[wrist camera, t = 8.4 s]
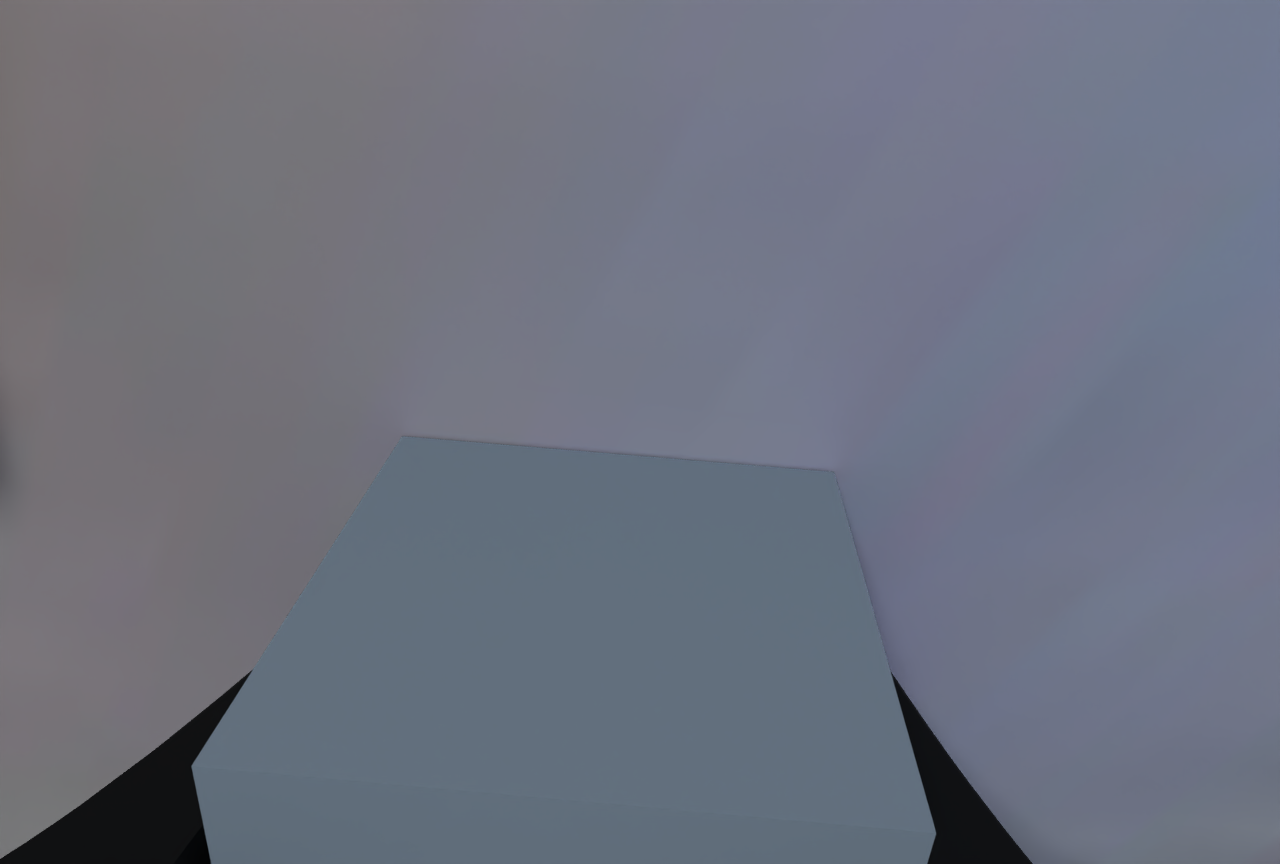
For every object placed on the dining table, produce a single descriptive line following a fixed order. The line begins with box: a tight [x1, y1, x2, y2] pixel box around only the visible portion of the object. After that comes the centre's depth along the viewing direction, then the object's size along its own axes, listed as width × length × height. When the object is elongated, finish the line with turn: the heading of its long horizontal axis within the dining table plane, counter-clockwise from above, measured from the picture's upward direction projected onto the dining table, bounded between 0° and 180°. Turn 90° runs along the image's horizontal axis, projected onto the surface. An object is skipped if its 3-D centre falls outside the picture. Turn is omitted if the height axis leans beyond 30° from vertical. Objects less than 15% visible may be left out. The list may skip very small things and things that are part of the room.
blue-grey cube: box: [192, 436, 936, 864], centre depth 10 cm, size 5×5×5 cm
